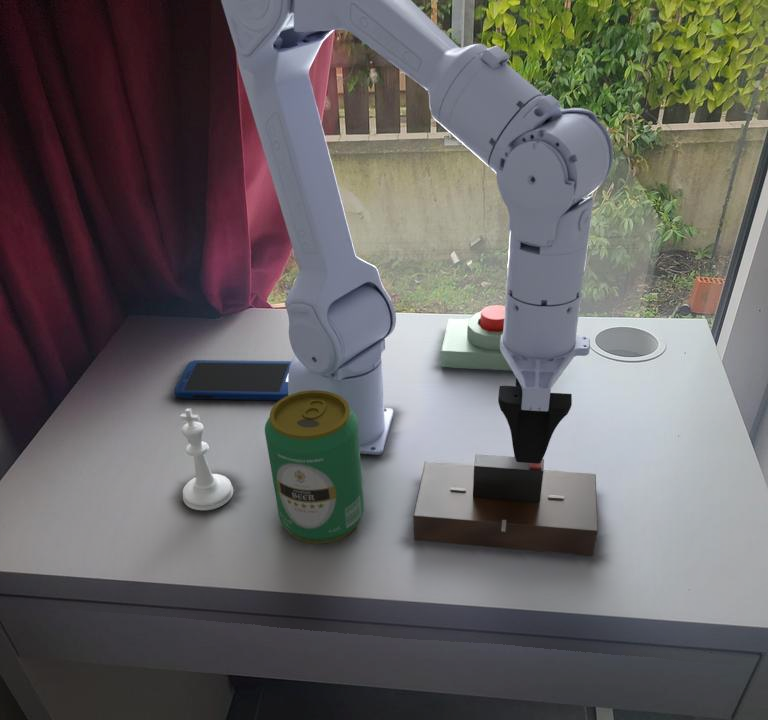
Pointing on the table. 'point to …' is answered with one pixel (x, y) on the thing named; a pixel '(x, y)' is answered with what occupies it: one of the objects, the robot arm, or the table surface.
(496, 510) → the panel
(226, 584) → the table surface
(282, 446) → the beverage can
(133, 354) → the table surface
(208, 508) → the chess piece
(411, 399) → the table surface
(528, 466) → the dark grey rectangular block
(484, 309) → the button
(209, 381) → the cell phone
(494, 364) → the button box
